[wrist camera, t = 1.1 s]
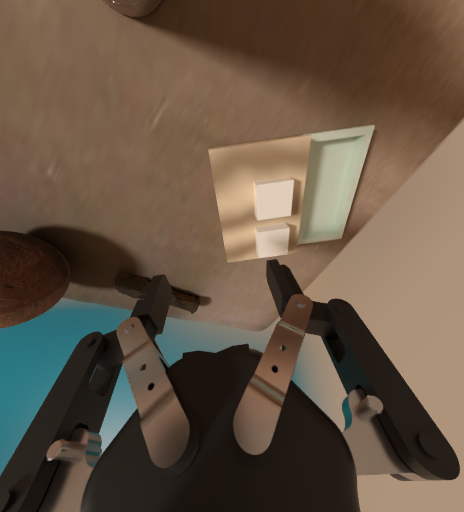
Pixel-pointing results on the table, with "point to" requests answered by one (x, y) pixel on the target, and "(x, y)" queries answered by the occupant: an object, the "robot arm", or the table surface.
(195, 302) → the hand tool
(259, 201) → the tile near
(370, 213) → the table surface
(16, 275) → the wooden sphere
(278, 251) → the tile far
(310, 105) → the table surface
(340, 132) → the tray
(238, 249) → the light wood flat block
